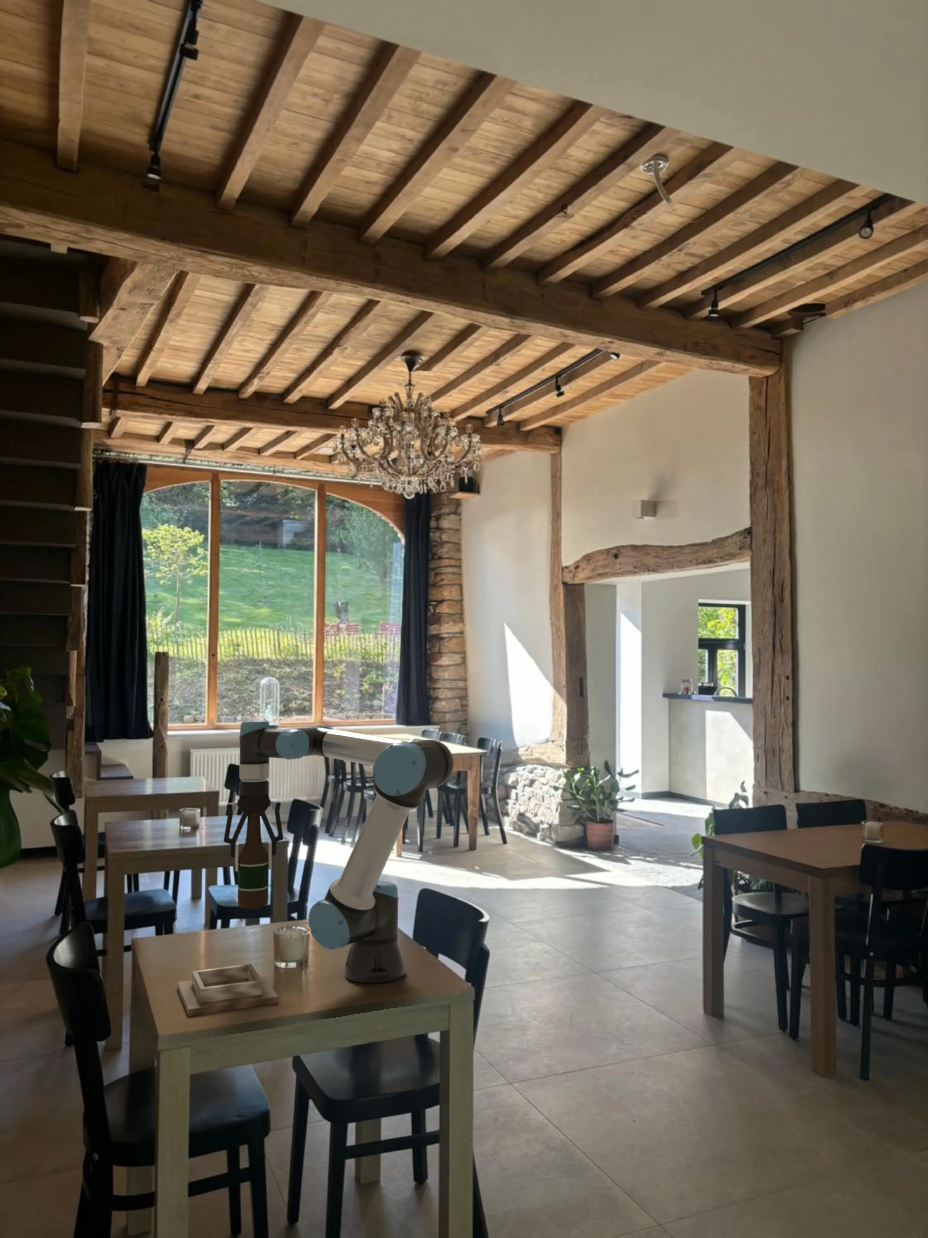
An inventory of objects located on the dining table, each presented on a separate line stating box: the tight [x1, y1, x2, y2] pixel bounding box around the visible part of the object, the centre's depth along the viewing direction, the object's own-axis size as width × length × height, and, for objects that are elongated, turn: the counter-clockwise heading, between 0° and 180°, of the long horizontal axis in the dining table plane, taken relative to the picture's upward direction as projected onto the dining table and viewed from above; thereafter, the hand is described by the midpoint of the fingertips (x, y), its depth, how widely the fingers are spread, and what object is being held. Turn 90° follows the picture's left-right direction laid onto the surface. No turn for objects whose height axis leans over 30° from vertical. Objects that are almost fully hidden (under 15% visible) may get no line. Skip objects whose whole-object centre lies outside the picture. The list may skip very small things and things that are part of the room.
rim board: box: [177, 963, 279, 1017], centre depth 217 cm, size 20×20×4 cm
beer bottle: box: [237, 812, 270, 910], centre depth 237 cm, size 8×8×24 cm
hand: (253, 869), depth 237 cm, fingers closed on beer bottle, 8 cm apart
